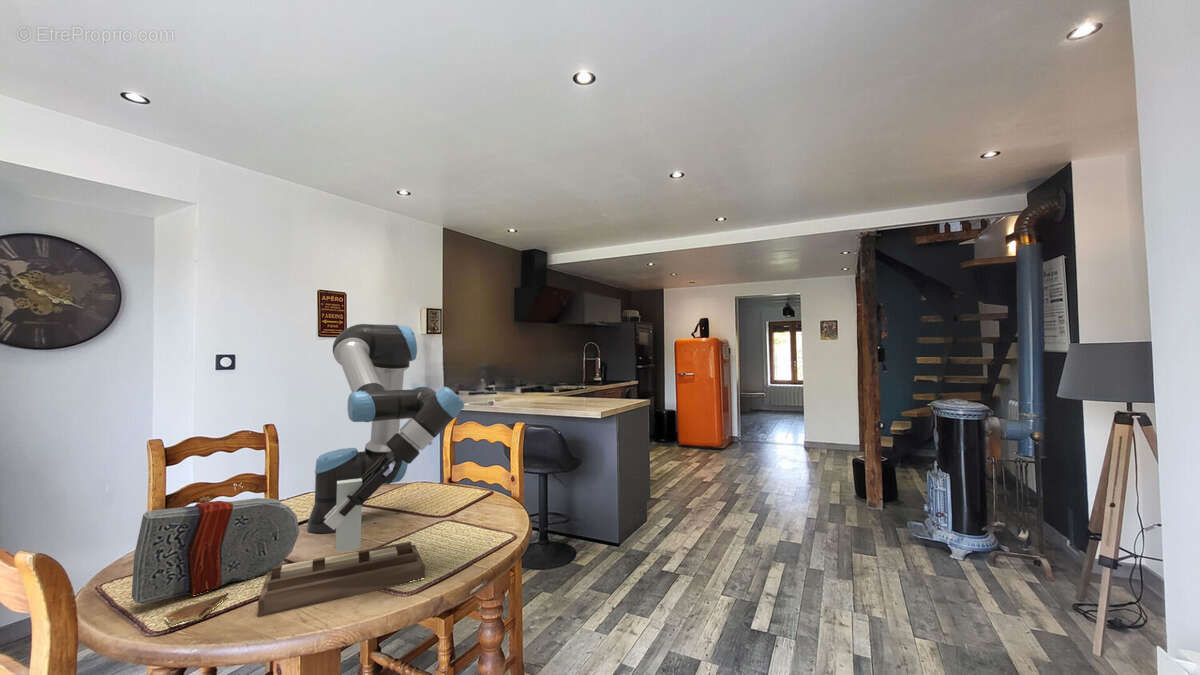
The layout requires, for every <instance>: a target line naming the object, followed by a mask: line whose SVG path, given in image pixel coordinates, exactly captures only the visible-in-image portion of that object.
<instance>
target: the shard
mask: <svg viewBox="0 0 1200 675" xmlns="http://www.w3.org/2000/svg"><path fill="white" fill-rule="evenodd" d="M229 595H230V592H227V593H224V594H220V595H219V596H216V597H215V596H214V597H212V598H209V599H205V600H201V601H198V602H196V603H192V604H190V605H187V606H184V607H180V608H176V609H175V610H172V611H169V612H167V613H166V614H164V615H163V618H164V617H166V618H167V619H168V621H169V623H170V625H171V626H173V625H176V624H179V623H182V622H186V621H191V620H199V619H202V618H203V617H204V616H205V615H206V614H207V613H208V614H210V613H211V612H212V611H211V610H212V609H213V608H214V607H216V606H217V605H218V604H219V603H221V602H222V600H224V599H225V598H226V597H227V598H228V596H229ZM227 598H226V599H227ZM210 611H211V612H210ZM209 612H210V613H209ZM208 614H207V615H208ZM207 615H206V616H207ZM206 616H205V617H206ZM205 617H204V618H205ZM204 618H203V619H204ZM203 619H202V620H203Z"/></svg>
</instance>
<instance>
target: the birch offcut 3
mask: <svg viewBox="0 0 1200 675" xmlns="http://www.w3.org/2000/svg"><path fill="white" fill-rule="evenodd" d="M393 556H397V549H396V547H392V548H386V549H381V550H376V551H370V552H369V561H372V560H377V559H383V558H388V557H393Z"/></svg>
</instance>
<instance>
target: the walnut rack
mask: <svg viewBox="0 0 1200 675" xmlns="http://www.w3.org/2000/svg"><path fill="white" fill-rule="evenodd" d="M392 547H396V549H397V556H393V557H388V558H383V559H377V560H372V561H369V552H370V551H376V550H381V549H386V548H392ZM354 552H358V554H359V563H357V564H352V565H346V566H341V567H336V568H331V569H326V570H325V558H326V557H331V556H332V555H331V556H330V555H329V556H324V557H323V556H322V557H318V558H312V559H311V560H313V572H310V573H305V574H300V575H295V576H290V577H284V578H280V572H281V568H282V565H287V564H288V563H286V564H279V565H278V566H273V568H272V570H270V571H268V572H266V576H265V579H264V582H263V585H262V588H261V592H260V594H259V599H258V603H257V606H258V607H257V617H262V616H267V615H272V614H277V613H280V612H285V611H289V610H294V609H298V608H299V609H300V608H303V607H308V606H312V605H316V604H317V605H318V604H320V603H321V604H322V603H326V602H329V601H334V600H338V599H339V600H340V599H342V598H343V599H344V598H349V597H353V596H356V595H362V594H366V593H370V592H374V591H379V590H384V589H388V588H387V587H389V588H392V587H391V586H393V587H396V586H395V585H398V586H401V585H400V584H402V585H405V584H404V583H407V584H409V583H408V582H410V581H413V580H418V579H421V578H425V579H426V576H425V575H426V566H425V564H424V562H423V559H422V557H421V555H420V553H419V551H418V548H417V546H416V545H415V544H413V543H412V542H411V541H407V542H400V543H396V544H390V545H384V546H379V547H374V548H373V547H372V548H368V549H362V550H357V551H352V552H346V553H340V554H335V555H333V556H337V555H343V554H348V553H354ZM309 560H310V559H307V560H302V561H300V562H304V561H309ZM298 562H299V561H296V562H290V563H289V564H293V563H298Z"/></svg>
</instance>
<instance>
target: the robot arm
mask: <svg viewBox="0 0 1200 675" xmlns="http://www.w3.org/2000/svg"><path fill="white" fill-rule="evenodd" d="M332 354H333V357H334V360H335V361H336V362H337V364H339V365H340V366H341V367H342V370H343V372H344V375H345V378H346V381H347V383H348V386H349V389H350V391H351V393H349V395H348V399H347V416H348V419H349V420H350V421H351V422H352V423H371V431H370V440H369V441H368V442H367V443H365V445H364V450H363V451H359V450H358V449H357V448H356V447H347V448H345V447H344V448H340V449H336V450H331V451H328V452H325V453H322V454H320V455H319V456H318V457H317V459H316V461H315V462H316V463H315V469H314V473H315V474H314V475H315V484H314V504H313V506H312V509H311V512H310V515H309V517H308V521H307V531H308V532H309V533H312V534H332V533H336V527H337V526H338V525H339V524H340V523H341V522H342V521H343V520H344V519H345V518H346V517H347V516H348V515H349V514H350V513H351V512H352V511H353V510H354V509H355V508H356V507H357V506H358V505H364V503H366V501H367V500H368V499H369V498H370V497H371V496H372V495H374V493H375V492H376V491H378V489H379V488H380V487H381V486H383V485H386V486H387V485H390V484H395V483H398V482H401V481H402V480H403V479H404V477H405V476H406V472H407V469H408V465H409V464H412V462H413V461H414V460H416V458H417V457H418V456H419V455H420V451H423V450H424V449H425V448H427V446H431V445H433V441H434V439H435V438H436V437H437V436H438V435H439V434H440V433H441V432H442V431H444V429H445V428H446V427H447V426H448V425H449V424H450V423H451V422H452V421H453V420H454V419H455V418H457V417H458V414H460V412H461V411H462V410H463V409H464V408H465V403H464V402H465V401H463V399H462V398H461V397H460V396H459V395H458V394H456V393H455V392H454V391H453V390H452V389H451V388H449V387H448V386H443V387H441V388H440V389H439V390H437V391H436V390H434V389H433V388H430V387H429V386H425V385H419V386H415V387H413V388H412V389H404V386H403V385H404V375H405V371H406V370H408V369H409V368H410V362H413V361H415V360H416V359H417V354H418V343H417V338H416V335H415V332H414V331H413V329H412V328H411V327H409V326H408V325H407V326H405V325H399V324H372V323H371V324H368V323H361V324H354V325H351V326H349V327H347V328H345V329H344V330H342V331H341V332H340V333H339V334H338V335H337V336H336V338H335V339H334V342H333V345H332ZM405 419H406V420H407V419H409V420H408V421H406V423H404V424H403V425H402V426H401V423H400V422H401V420H405ZM400 426H401V427H400ZM359 478H362V485H361V486H360V487H359V489H358V490H357V491H356V492H355V493H354V494H353V495H352V496H350V495H347V499H346V500H345V501H344V502H343V503H342V504H341V505H340V506H339V507H338V508H337V509H336V502H337V481H341V480H350V479H359ZM362 522H363V514H362V515H361V523H362Z"/></svg>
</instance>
